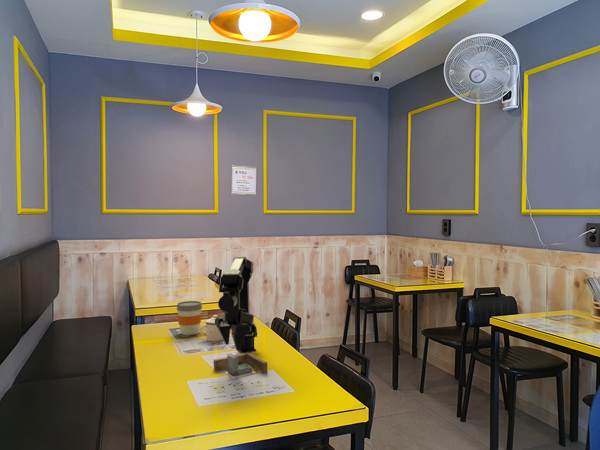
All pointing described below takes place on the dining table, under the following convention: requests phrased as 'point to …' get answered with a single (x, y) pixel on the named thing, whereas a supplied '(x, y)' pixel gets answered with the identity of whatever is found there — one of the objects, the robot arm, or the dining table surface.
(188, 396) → the dining table surface
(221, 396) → the dining table surface
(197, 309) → the reusable coffee cup
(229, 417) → the dining table surface
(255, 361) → the brown l-shaped piece
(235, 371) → the bracket
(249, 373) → the beige flat tile
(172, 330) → the dining table surface
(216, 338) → the teacup with lid
